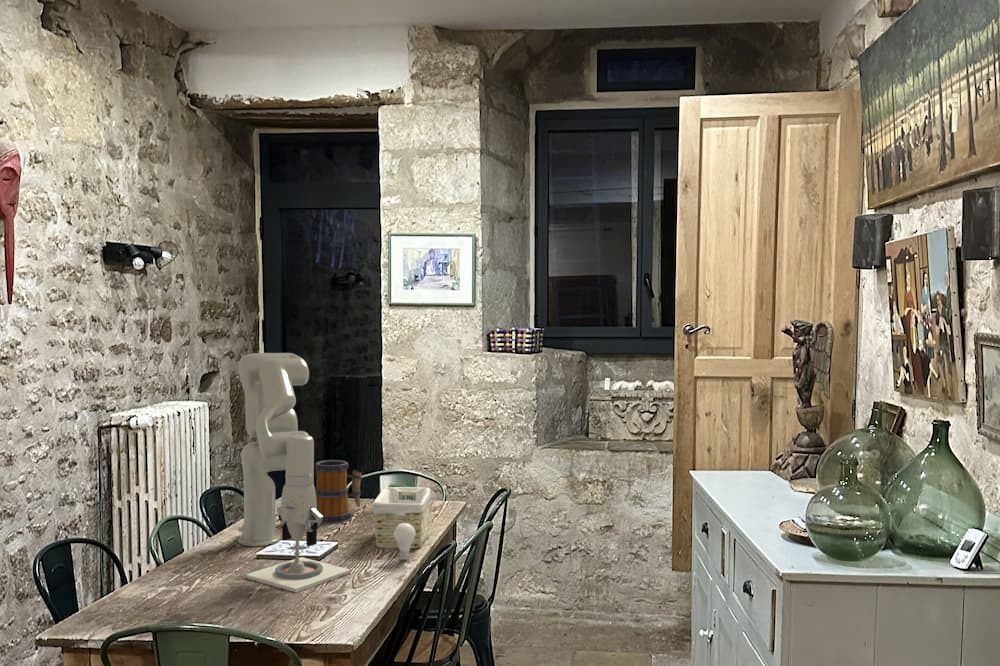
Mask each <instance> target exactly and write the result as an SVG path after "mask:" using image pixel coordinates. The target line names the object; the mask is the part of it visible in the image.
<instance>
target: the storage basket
mask: <svg viewBox="0 0 1000 666" xmlns="http://www.w3.org/2000/svg"><path fill="white" fill-rule="evenodd" d="M431 491H432V490H431V489H430V487H420V486H419V487H415V486H413V487H412V486H407V487H406V486H385V487H383V489H382V490H381V491H380V493H379V494H378V495H377V497H376V498H375V500H373V502H372V515H373V521H374V533H375V534H374V535H375V539H376V541H375V543H376V544H375V545H376V548H379V549H386V548H387V549H399V546H398V544H397V542H396V540H395V538H394V530H395V528H396V527H397V526H398V525H399V524H401V523H408V524H410V525H412V526H413V527H414V529H415V538H414V540H413V542H412V543H411V546H410V548H414V549H420V548H422V546H423V544H424V542H425V540H426V537H427V534H428V531H429V529H430V528H429V523H430V522H429V521H430V516H429V515H430V504H431V503H430V502H431V496H432V493H431ZM400 496H416V500H415V501H413V500H412V501H410V500H400Z"/></svg>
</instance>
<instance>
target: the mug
mask: <svg viewBox="0 0 1000 666" xmlns="http://www.w3.org/2000/svg"><path fill="white" fill-rule="evenodd" d="M314 468H315V470H316V487H315V493H316V503H317V511H318V512H319V513H320V514H321V515H322V516H323V520H322V522H321V525H338V524H337V523H340V524H344V522H345V523H348V522H351V520H352V519H353V516H352V513H351V511H350V509H349V507H350V506H349V498H352V497H353V499H354V502H355V504H356V505H357V507H358V508H361V507H360V506H361V503H360V500H361V499H360V496H361V495H362V494H361V493H362V492H361V481H362V472H361V471H359V470H357V469H356V470H355V469H353V470H352V474H347V471H348V469H349V468H350V466H349V462H348V461H345V460H339V459H338V460H337V459H328V460H320V461H316V462H315V463H314ZM348 478H351V489H352V492H351V493H349V488H348V486H347V485H348V484H347V482H348V480H347V479H348Z"/></svg>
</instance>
